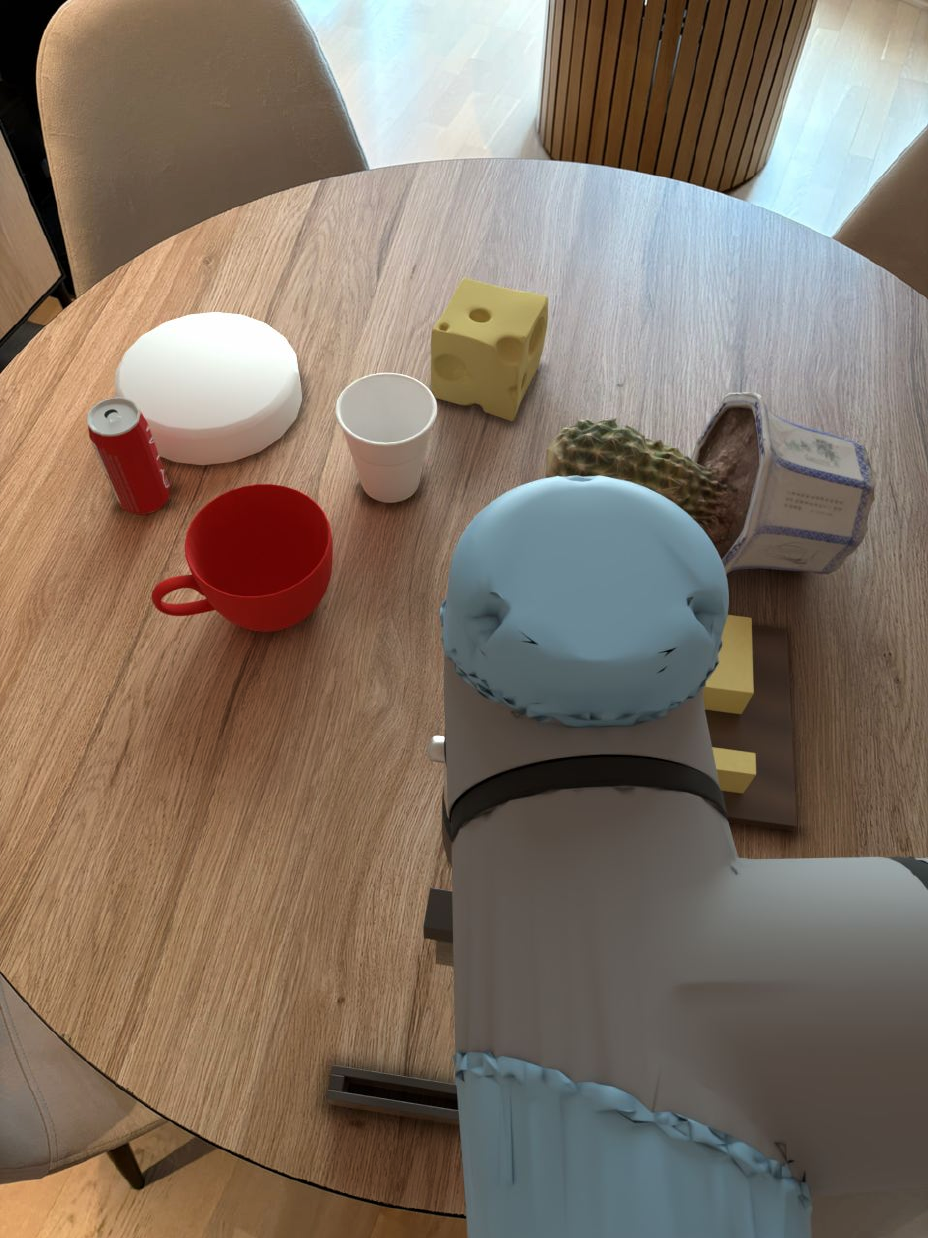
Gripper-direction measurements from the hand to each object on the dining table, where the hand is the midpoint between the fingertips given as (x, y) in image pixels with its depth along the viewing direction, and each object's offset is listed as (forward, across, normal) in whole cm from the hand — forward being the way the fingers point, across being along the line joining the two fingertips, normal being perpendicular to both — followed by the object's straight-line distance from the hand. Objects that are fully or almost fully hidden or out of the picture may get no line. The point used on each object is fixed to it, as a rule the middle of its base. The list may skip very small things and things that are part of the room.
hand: (503, 953), depth 57 cm
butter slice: (+18, -22, +16) cm, 33 cm away
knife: (+5, 0, 0) cm, 5 cm away
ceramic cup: (+19, -33, -28) cm, 47 cm away
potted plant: (+19, -49, +13) cm, 54 cm away
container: (+19, -60, -40) cm, 75 cm away
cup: (+19, -51, -18) cm, 58 cm away
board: (+19, -29, +16) cm, 38 cm away
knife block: (+19, +6, -5) cm, 21 cm away
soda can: (+19, -45, -43) cm, 65 cm away
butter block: (+18, -33, +16) cm, 41 cm away
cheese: (+19, -68, -10) cm, 72 cm away
